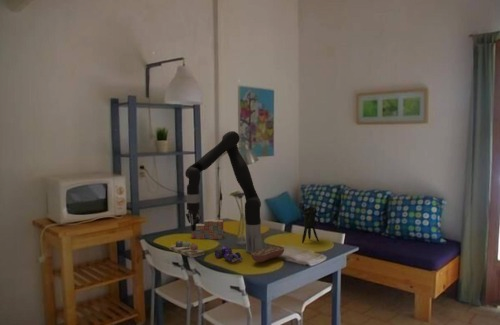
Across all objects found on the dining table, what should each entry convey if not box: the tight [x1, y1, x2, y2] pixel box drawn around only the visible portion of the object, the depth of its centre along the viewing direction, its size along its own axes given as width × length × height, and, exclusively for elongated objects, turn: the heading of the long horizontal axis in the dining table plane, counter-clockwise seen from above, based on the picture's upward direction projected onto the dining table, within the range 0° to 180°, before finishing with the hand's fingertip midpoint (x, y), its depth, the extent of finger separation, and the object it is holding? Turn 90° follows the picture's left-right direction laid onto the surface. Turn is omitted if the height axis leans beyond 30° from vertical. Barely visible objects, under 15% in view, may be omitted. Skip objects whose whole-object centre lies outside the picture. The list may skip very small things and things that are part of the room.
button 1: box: [190, 243, 199, 250], centre depth 237 cm, size 4×4×3 cm
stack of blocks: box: [191, 219, 224, 240], centre depth 277 cm, size 21×6×12 cm, turn 85°
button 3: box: [175, 240, 184, 247], centre depth 249 cm, size 4×4×3 cm
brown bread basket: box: [250, 245, 285, 263], centre depth 228 cm, size 23×10×5 cm, turn 134°
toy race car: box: [214, 244, 243, 263], centre depth 230 cm, size 10×15×6 cm, turn 46°
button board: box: [169, 244, 205, 258], centre depth 243 cm, size 24×9×2 cm, turn 42°
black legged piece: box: [300, 203, 321, 244], centre depth 261 cm, size 19×12×25 cm, turn 138°
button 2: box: [183, 241, 191, 247], centre depth 243 cm, size 4×4×3 cm
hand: (193, 230), depth 236 cm, fingers closed
